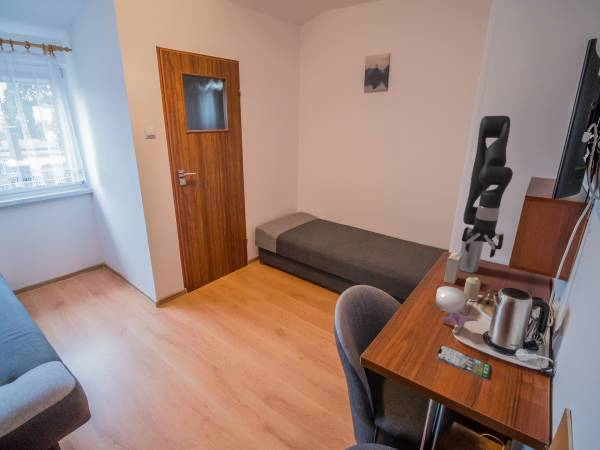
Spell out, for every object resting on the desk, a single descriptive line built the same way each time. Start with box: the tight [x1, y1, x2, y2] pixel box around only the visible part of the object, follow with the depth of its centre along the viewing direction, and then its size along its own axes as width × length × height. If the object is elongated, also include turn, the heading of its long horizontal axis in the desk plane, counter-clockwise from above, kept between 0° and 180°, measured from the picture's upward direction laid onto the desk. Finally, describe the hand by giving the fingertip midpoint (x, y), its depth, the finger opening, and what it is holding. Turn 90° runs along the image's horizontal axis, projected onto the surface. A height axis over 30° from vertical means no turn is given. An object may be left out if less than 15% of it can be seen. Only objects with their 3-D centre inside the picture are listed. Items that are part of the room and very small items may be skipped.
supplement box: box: [443, 251, 462, 286], centre depth 144 cm, size 8×5×13 cm, turn 143°
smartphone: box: [436, 344, 492, 381], centre depth 97 cm, size 7×1×15 cm
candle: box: [463, 276, 482, 301], centre depth 130 cm, size 6×6×10 cm
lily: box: [439, 312, 479, 337], centre depth 110 cm, size 12×12×10 cm
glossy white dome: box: [434, 285, 467, 314], centre depth 125 cm, size 11×11×6 cm
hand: (478, 254), depth 125 cm, fingers open, 8 cm apart
